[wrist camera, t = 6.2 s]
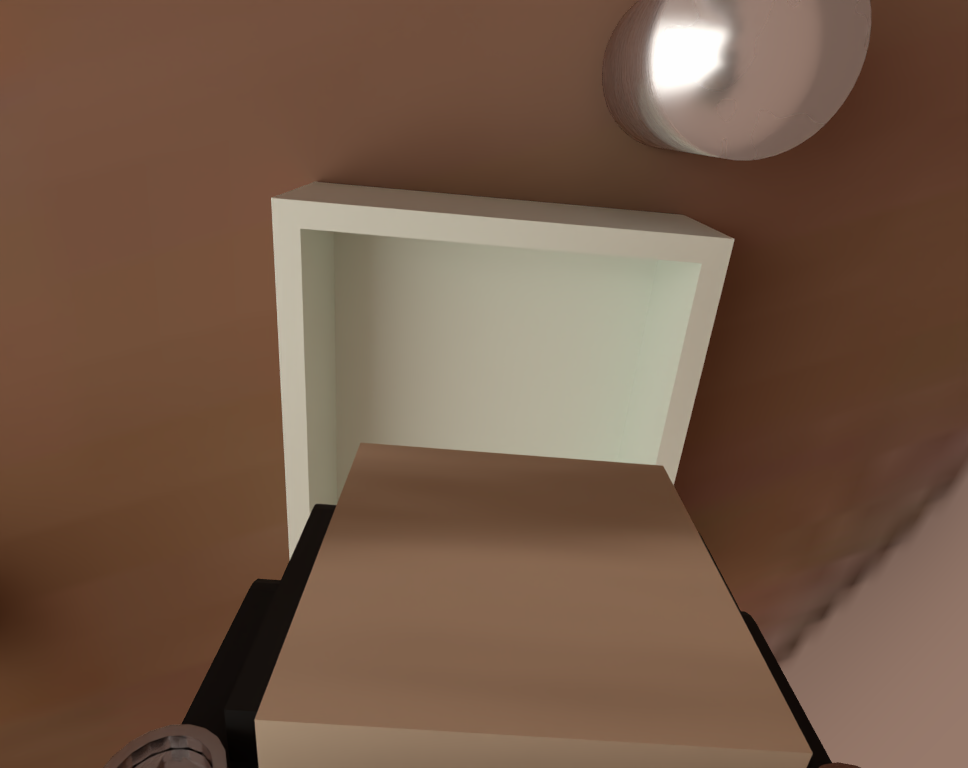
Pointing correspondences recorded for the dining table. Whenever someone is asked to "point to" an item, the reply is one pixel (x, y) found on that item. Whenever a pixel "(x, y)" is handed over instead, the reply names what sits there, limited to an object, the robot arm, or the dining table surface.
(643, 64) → the steel cylinder
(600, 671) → the maple cube
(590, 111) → the dining table surface
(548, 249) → the tote
